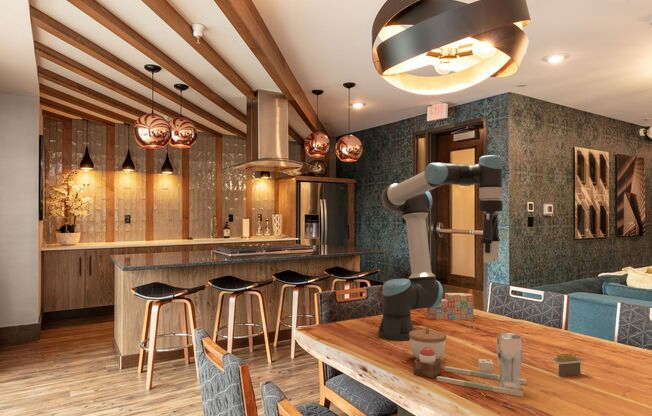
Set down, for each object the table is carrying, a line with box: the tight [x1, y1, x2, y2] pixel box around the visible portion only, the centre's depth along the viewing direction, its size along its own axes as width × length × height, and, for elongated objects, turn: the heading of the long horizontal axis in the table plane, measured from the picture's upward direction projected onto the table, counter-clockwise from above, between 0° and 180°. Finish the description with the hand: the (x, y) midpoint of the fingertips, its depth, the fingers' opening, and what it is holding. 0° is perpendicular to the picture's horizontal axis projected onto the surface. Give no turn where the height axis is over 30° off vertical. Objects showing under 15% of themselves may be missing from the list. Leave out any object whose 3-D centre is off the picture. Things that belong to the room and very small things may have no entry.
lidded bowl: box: [409, 327, 447, 359], centre depth 152 cm, size 13×13×11 cm
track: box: [436, 366, 527, 397], centre depth 131 cm, size 24×11×1 cm, turn 61°
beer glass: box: [496, 332, 523, 391], centre depth 128 cm, size 7×7×15 cm
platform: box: [552, 353, 585, 377], centre depth 138 cm, size 12×18×7 cm, turn 103°
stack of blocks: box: [426, 292, 474, 321], centre depth 215 cm, size 21×6×12 cm, turn 87°
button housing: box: [412, 357, 442, 379], centre depth 139 cm, size 7×7×4 cm
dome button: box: [419, 347, 435, 364], centre depth 139 cm, size 5×5×7 cm
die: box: [478, 358, 494, 374], centre depth 139 cm, size 4×4×4 cm
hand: (491, 261), depth 151 cm, fingers open, 13 cm apart
